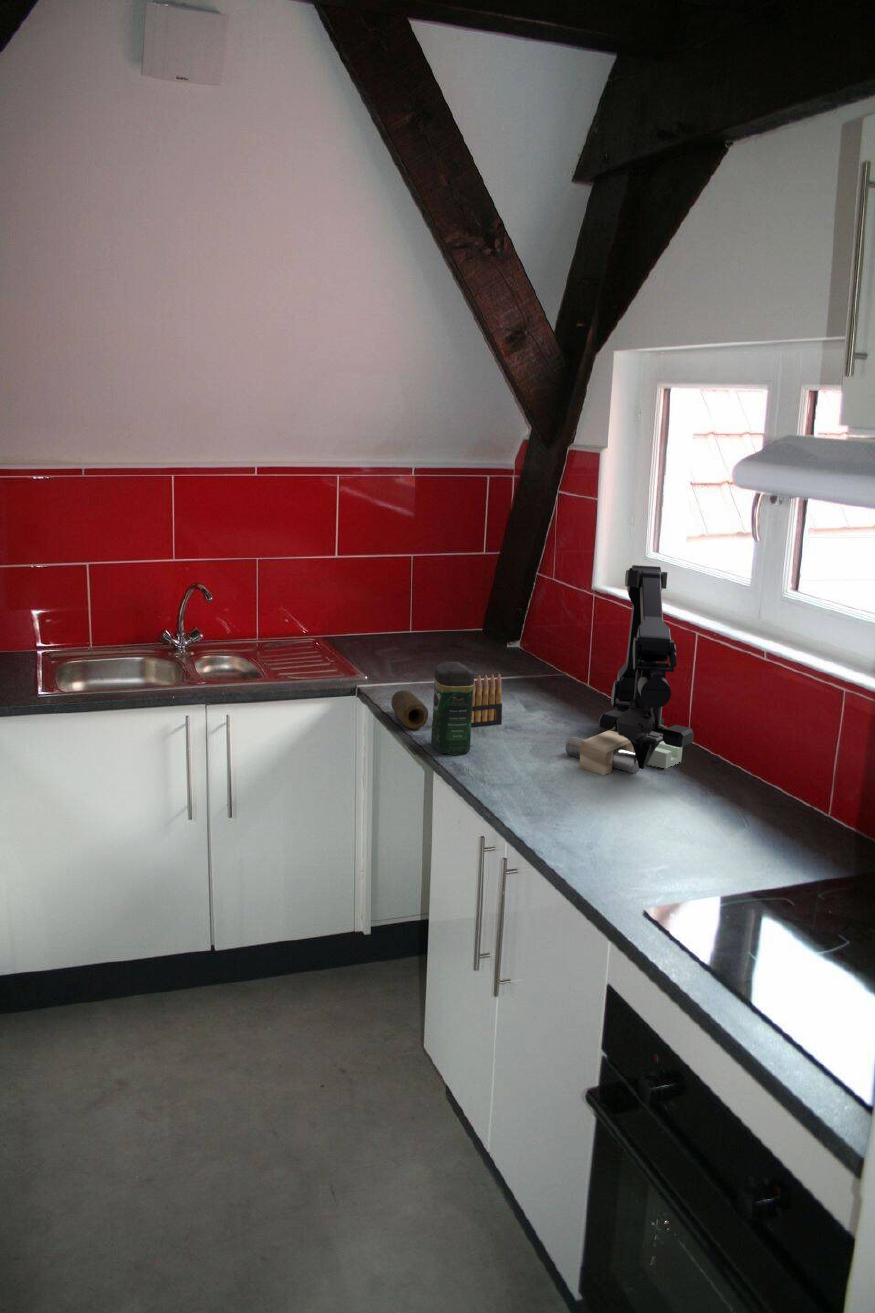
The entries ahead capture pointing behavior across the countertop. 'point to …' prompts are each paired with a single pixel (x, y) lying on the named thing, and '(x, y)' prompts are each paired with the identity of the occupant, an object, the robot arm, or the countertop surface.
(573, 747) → the axle
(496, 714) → the ammunition clip
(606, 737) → the wooden bridge block
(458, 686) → the coffee jar
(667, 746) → the v block
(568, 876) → the countertop surface
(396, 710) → the brown hollow cylinder
